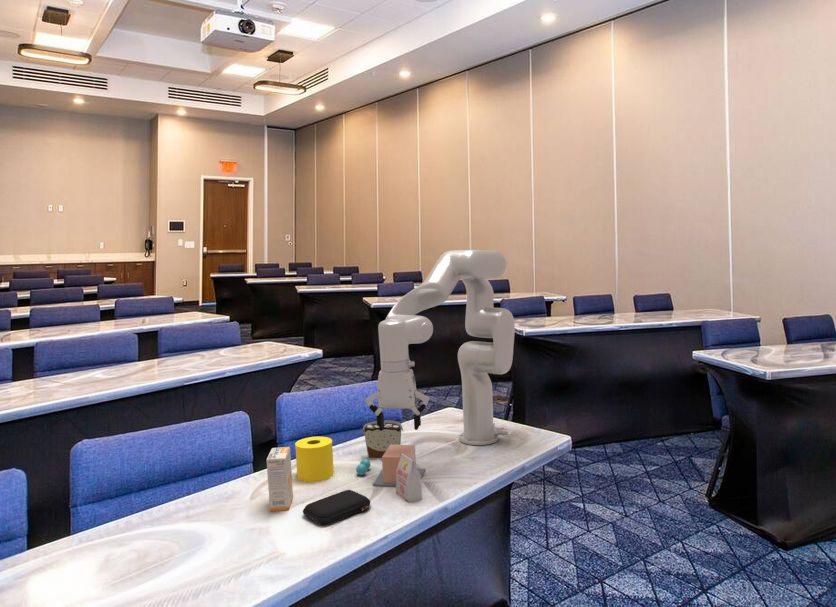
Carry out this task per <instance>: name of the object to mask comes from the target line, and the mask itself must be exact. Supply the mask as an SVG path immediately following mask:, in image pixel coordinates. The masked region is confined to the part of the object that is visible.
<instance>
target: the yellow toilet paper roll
mask: <svg viewBox="0 0 836 607" xmlns="http://www.w3.org/2000/svg"><path fill="white" fill-rule="evenodd" d="M294 445H295V459H296V460H295V462H296V475H297V478H296V479H297V480H298V479H299V481H300V480H301V481H300V482H303V481H305V482H304V483H318V482H323V481H327V480H329V479H331V478H332V477H334V475H335V474H334V473H335V470H334V455H333V454H334V453H333V452H334V451H333V439H332V438H330V437H327V436H311V437H310V436H309V437H305V438H301V439H299V440H297V441H296V442H295V444H294ZM333 474H334V475H333ZM331 476H332V477H331ZM330 477H331V478H330ZM328 478H329V479H328ZM326 479H327V480H326Z"/></svg>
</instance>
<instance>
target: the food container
mask: <svg viewBox="0 0 836 607" xmlns="http://www.w3.org/2000/svg"><path fill="white" fill-rule="evenodd" d="M402 432H404V428H403V425H402V423H400V422H399V421H397V420H390V419H389V420H385V419H384V428H383V429H382V430H379V426H377V420H375V421H371V422H368V423H366V424H364V425H363V427H362V430H361V433H362V434H363V433H364V434H363V435H364V441H365V447H366V452H367V459H368V460H378V459H379V460H382V456H383V455H384V453H385V452H386V450H387V449H388V447H389V446H390V445H402V444H401V441H402V440H401V439H402Z"/></svg>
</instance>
